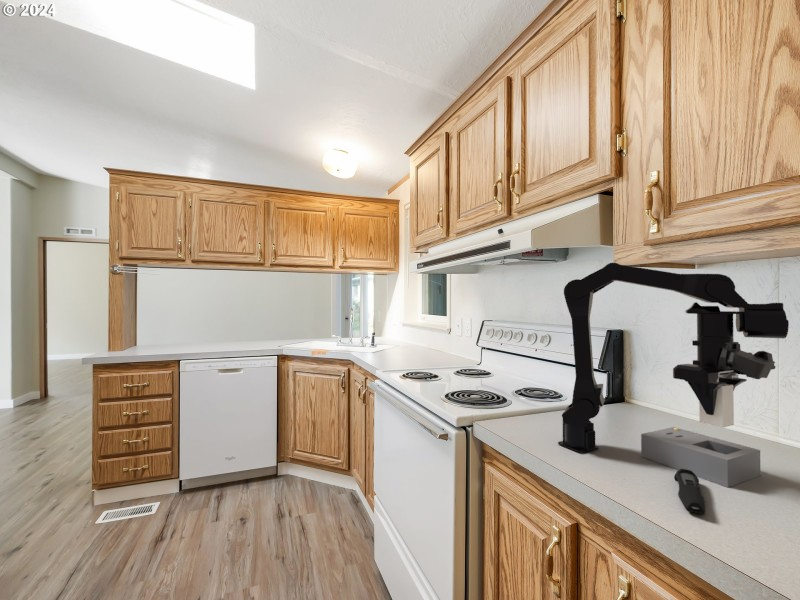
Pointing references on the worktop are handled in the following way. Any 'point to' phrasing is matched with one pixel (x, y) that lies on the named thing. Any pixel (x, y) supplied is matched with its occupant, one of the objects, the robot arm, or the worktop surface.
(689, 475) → the electric trimmer
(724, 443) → the block
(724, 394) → the block
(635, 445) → the worktop surface
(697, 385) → the robot arm
